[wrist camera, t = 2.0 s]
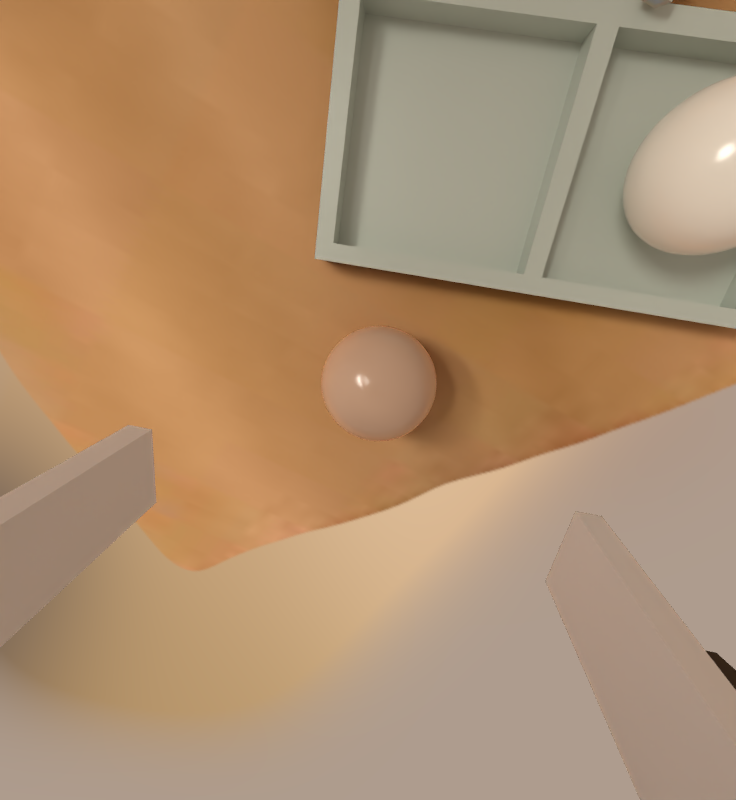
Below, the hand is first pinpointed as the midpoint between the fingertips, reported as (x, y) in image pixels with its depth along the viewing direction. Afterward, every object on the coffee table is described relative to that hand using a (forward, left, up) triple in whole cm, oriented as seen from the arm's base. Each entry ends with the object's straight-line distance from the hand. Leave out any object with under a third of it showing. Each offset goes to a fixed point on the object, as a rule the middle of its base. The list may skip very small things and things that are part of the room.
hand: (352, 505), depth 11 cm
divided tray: (-13, +7, -15) cm, 22 cm away
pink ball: (0, 0, -15) cm, 15 cm away
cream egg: (-13, +13, -15) cm, 24 cm away
